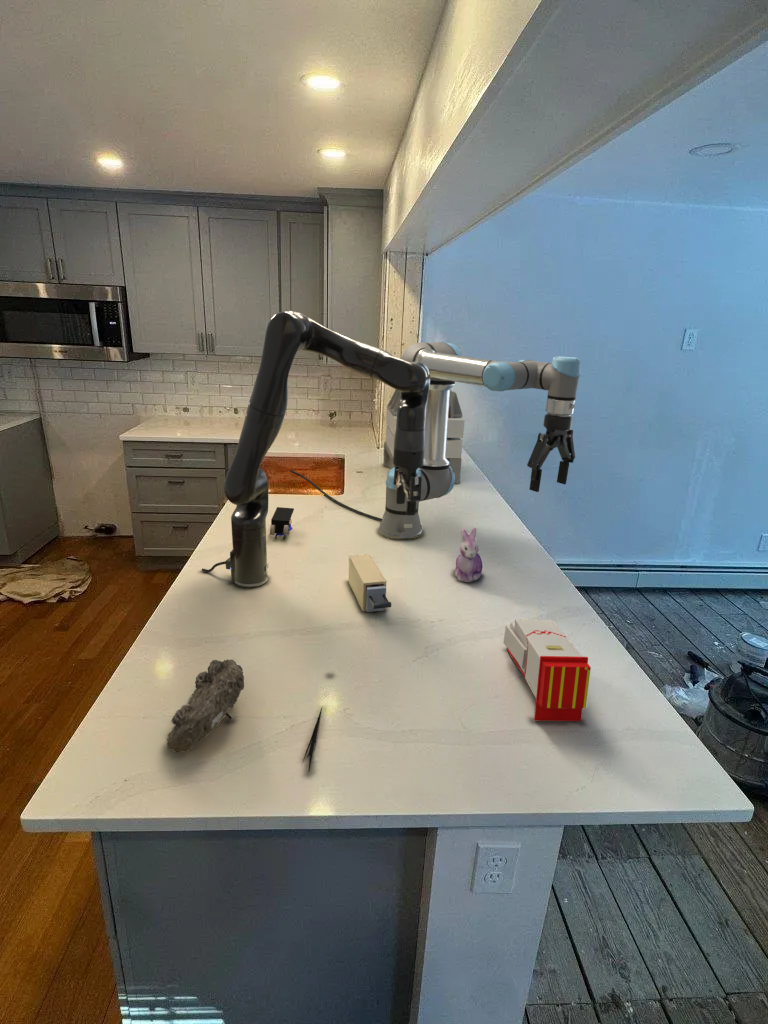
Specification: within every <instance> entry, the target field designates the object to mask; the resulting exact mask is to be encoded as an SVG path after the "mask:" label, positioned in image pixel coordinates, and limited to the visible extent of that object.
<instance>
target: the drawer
mask: <svg viewBox="0 0 768 1024" xmlns="http://www.w3.org/2000/svg"><path fill="white" fill-rule="evenodd" d="M387 608H392V602H391V601H390V600H389V599H388V597H387V586H386V587H385V586H381V584H376V585H366V611H365V612H366V613H371V612H381V611H385V610H386V609H387Z"/></svg>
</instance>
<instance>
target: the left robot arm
mask: <svg viewBox="0 0 768 1024" xmlns="http://www.w3.org/2000/svg"><path fill="white" fill-rule="evenodd" d="M299 351H306V352H311V353H315V354H319V355H321V356H324V357H326V358H329V359H331V360H333V361H335V362H337V363H338V364H339V365H341V366H343V367H345V368H347V369H349V370H351V371H353V372H355V373H357V374H359V375H362V376H365V377H368V378H370V379H373V380H376V381H379V382H382V383H383V384H385V385H387V386H388V387H390V388H392V389H393V390H398V391H401V400H400V404H399V406H398V409H397V419H396V431H395V437H394V455H393V464H394V465H395V471H394V485H396V486H395V488H396V489H397V492H396V503H397V504H404V503H405V493H406V495H407V508H406V514H407V515H415V513H416V501H420V500H421V481H422V478H421V476H420V477H418V476H417V471H416V470H417V469H418V468H420V467H422V466H423V464H424V450H425V422H426V404H427V399H428V393H429V386H430V372H429V370H428V368H427V367H426V365H424V364H423V363H421V362H417V361H415V362H407V361H404V360H402V358H399V357H396V356H393V354H392V353H390V352H389V351H387V350H384V349H382V348H380V347H377V346H374V345H371V344H369V343H366V342H363V341H360V340H358V339H355V338H353V337H349V336H346V335H343V334H341V333H339V332H336V331H334V330H333V329H330V328H328V327H326V326H324V325H322V324H321V323H319V322H317V321H315V320H314V319H312V318H310V317H308V316H307V315H305V314H304V313H303V312H300V311H297V310H285V311H284V310H283V311H280V312H277V313H275V314H274V315H273V316H272V317H271V318H270V319H269V321H268V323H267V326H266V329H265V335H264V341H263V348H262V353H261V360H260V364H259V368H258V370H257V371H258V372H257V374H256V377H255V381H254V385H253V389H252V392H251V394H250V397H249V401H248V404H247V405H248V406H247V408H246V412H245V416H244V420H243V424H242V429H241V431H240V435H239V439H238V444H237V447H236V451H235V454H234V456H233V458H232V462H231V464H230V467H229V469H228V471H227V474H226V476H225V479H224V483H223V491H224V494H225V497H226V499H227V500H228V501H229V503H231V504H233V505H235V506H236V507H235V509H234V511H233V512H232V514H231V517H230V523H231V524H230V525H231V541H232V544H231V545H232V549H231V551H229V557H228V558H227V559H225V560H224V561H220V562H216V563H215V564H213V565H212V566H211V568H209V569H207V568H203V567H202V569H201V572H205V573H211V572H213V571H214V569H215V568H217V567H218V566H222V565H225V569H226V570H230V579H231V580H230V581H231V584H235V585H236V586H238V587H242V588H256V587H261V586H262V585H264V584H266V583H267V582H268V580H269V575H268V569H269V563H268V553H267V552H268V551H267V515H268V512H269V494H270V493H269V480H268V476H267V474H266V473H265V471H264V469H262V468H261V466H262V463H263V460H264V459H265V457H266V455H267V454H268V452H269V450H270V449H271V447H272V445H273V444H274V442H275V440H276V439H277V438H278V435H279V433H280V431H281V428H282V426H283V422H284V419H285V416H286V411H287V407H288V399H289V397H288V396H289V395H288V394H289V393H288V392H289V391H288V381H289V375H290V371H291V368H292V365H293V362H294V360H295V357H296V355H297V353H298V352H299ZM409 492H410V493H409ZM413 493H414V496H413ZM420 502H421V501H420Z"/></svg>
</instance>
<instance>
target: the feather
mask: <svg viewBox="0 0 768 1024" xmlns="http://www.w3.org/2000/svg"><path fill="white" fill-rule="evenodd" d="M329 675H330V676H331V675H332V674H331V673H330V674H329ZM322 710H323V707H321V708H320V710H319V713H318V716H317V719H316V723H315V725H314V728H313V731H312V733H311V737H310V739H309V742H308V745H307V748H306V751H305V754H304V757H303V760H302V763H301V767H302V765H303V763H304V761H305V758H308V759H309V760H308V762H307V763H308V764H307V766H308V771H310V770H311V766H312V765H311V764H312V760H313V757H315V756H314V755H315V751H316V749H315V746H317V739H318V733H319V729H320V722H321V717H322V712H323V711H322ZM313 754H314V755H313ZM306 755H307V757H306Z"/></svg>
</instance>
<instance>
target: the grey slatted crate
mask: <svg viewBox="0 0 768 1024" xmlns="http://www.w3.org/2000/svg"><path fill="white" fill-rule="evenodd" d="M400 400H401V391H398V390H396V389H394V392H393V394H392V395H391V398H390V400H389V402H388V404H387V405H386V413H385V414H386V415H385V423H386V428H385V438H384V442H383V466H384V467H388V468H389V470H390V469H392V468H394V467H395V465H394V464H393V455H394V437H395V431H396V419H397V409H398V406H399V404H400ZM464 429H465V419H464V418H463V411H462V408H461V405H460V402H459V398H458V395H457V392H455V391H453V390H452V389H450V396H449V411H448V426H447V441H446V456H445V457H446V459H447V460H448V461H449V466H450V467H451V468H452V470H453V471H452V472H453V473H454V475H455V483H456V484H459V483H461V472H462V461H463V460H462V453H463V442H464V441H463V440H462V439H463V438H464V431H465V430H464ZM455 483H454V484H455Z"/></svg>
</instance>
